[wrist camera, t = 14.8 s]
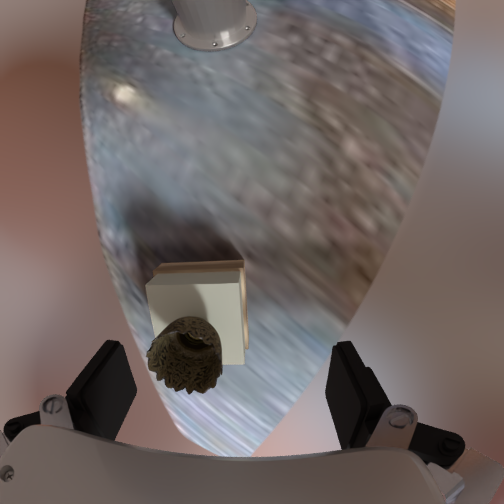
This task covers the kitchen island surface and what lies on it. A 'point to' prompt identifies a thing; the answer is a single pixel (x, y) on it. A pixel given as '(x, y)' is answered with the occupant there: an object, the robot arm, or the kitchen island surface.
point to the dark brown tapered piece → (187, 355)
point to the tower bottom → (211, 267)
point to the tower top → (202, 306)
